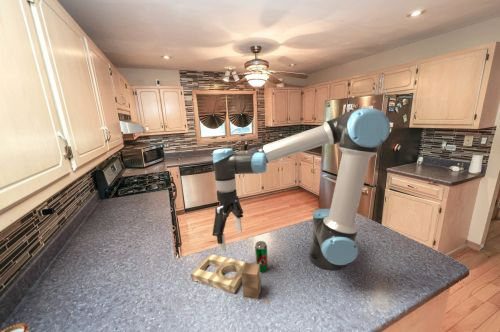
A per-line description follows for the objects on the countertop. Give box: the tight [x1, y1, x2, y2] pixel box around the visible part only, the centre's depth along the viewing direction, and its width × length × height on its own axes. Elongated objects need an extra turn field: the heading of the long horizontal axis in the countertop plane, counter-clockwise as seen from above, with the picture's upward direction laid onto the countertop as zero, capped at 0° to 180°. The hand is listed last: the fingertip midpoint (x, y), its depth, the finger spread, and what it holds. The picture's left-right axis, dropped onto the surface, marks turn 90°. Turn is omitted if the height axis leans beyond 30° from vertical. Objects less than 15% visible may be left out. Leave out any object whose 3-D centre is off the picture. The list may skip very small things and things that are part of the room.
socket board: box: [190, 253, 247, 294], centre depth 86 cm, size 20×14×3 cm
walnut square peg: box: [241, 262, 262, 300], centre depth 76 cm, size 6×6×10 cm
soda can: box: [254, 240, 269, 273], centre depth 87 cm, size 5×5×12 cm
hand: (231, 240), depth 82 cm, fingers open, 13 cm apart
